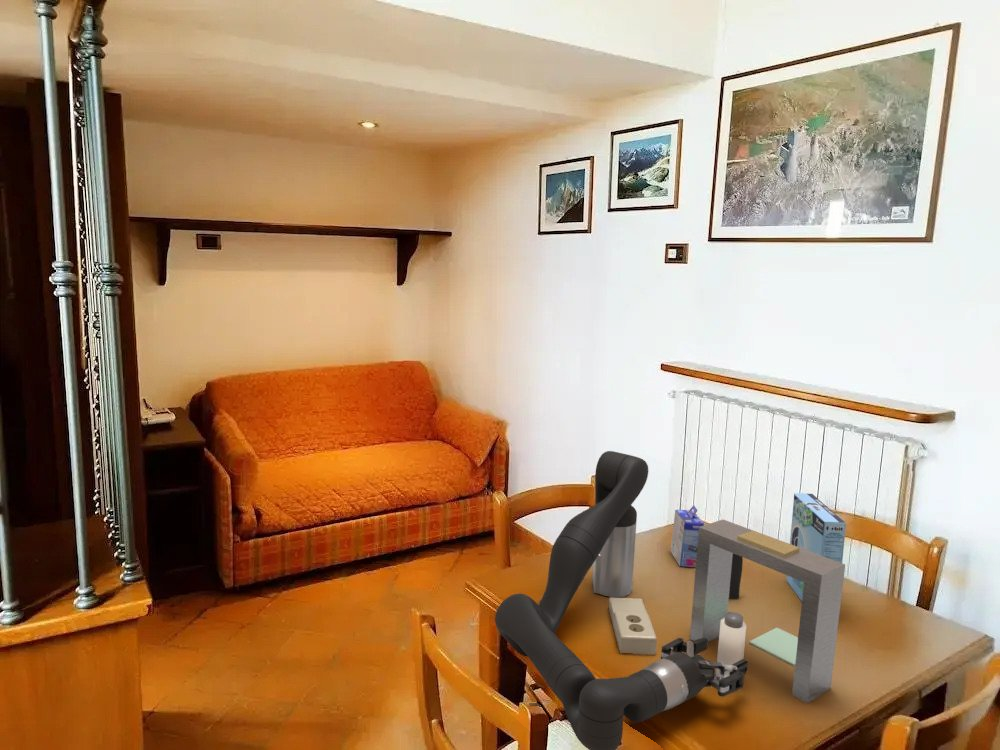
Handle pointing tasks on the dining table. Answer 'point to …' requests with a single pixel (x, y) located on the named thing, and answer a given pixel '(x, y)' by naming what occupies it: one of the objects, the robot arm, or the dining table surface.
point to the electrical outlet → (632, 626)
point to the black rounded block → (735, 576)
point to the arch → (785, 558)
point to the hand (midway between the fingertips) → (725, 653)
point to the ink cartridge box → (685, 537)
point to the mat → (778, 644)
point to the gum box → (815, 532)
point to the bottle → (731, 639)
